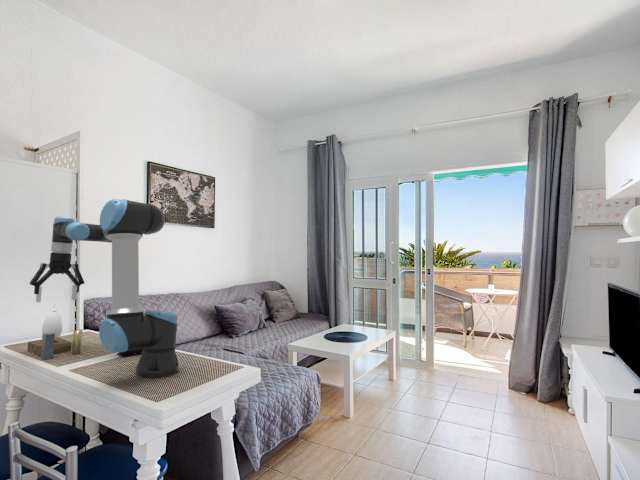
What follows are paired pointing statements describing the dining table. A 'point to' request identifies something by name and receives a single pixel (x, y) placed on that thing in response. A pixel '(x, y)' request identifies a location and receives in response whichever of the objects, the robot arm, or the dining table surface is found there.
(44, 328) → the white air blower
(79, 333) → the round bit
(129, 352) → the end cap
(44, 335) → the square bit
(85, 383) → the dining table surface
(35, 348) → the socket board
